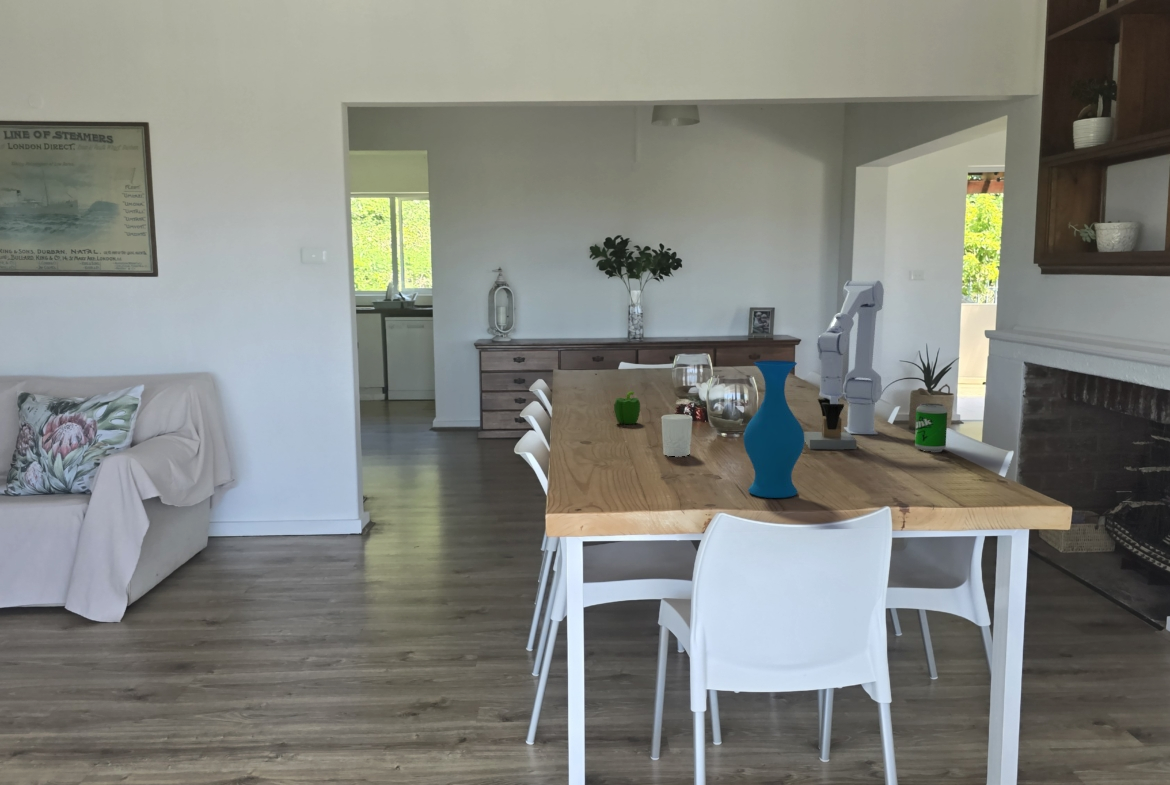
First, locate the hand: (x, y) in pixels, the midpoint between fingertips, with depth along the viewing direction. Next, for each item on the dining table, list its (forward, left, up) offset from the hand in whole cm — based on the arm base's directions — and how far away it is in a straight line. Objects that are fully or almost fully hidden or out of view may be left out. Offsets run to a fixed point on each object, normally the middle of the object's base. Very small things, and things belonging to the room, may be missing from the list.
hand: (829, 426), depth 236 cm
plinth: (0, 0, -5) cm, 5 cm away
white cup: (+16, -41, -5) cm, 44 cm away
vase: (+55, -20, -5) cm, 59 cm away
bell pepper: (-31, -57, -5) cm, 65 cm away
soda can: (+5, +25, -5) cm, 26 cm away
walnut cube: (0, 0, -2) cm, 3 cm away
